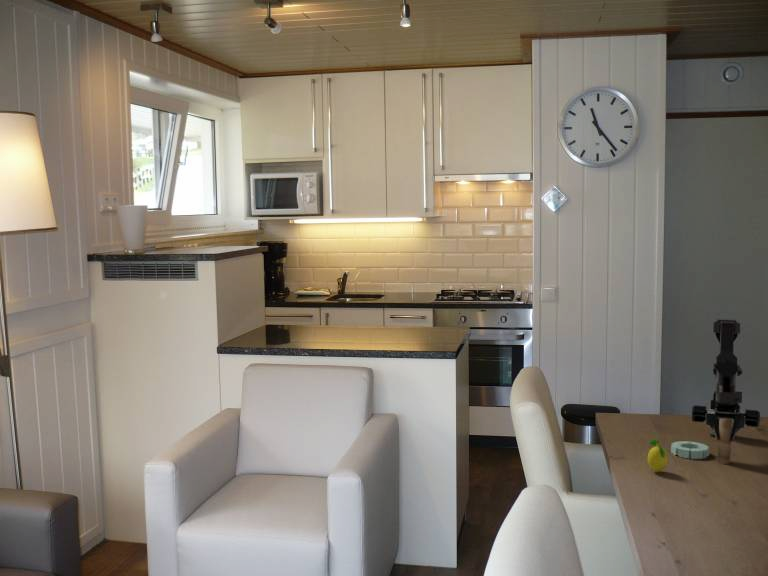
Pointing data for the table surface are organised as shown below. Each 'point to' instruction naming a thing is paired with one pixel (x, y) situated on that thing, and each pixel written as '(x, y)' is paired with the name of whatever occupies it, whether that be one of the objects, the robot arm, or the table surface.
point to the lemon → (657, 456)
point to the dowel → (724, 440)
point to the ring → (690, 449)
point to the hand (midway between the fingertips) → (724, 440)
